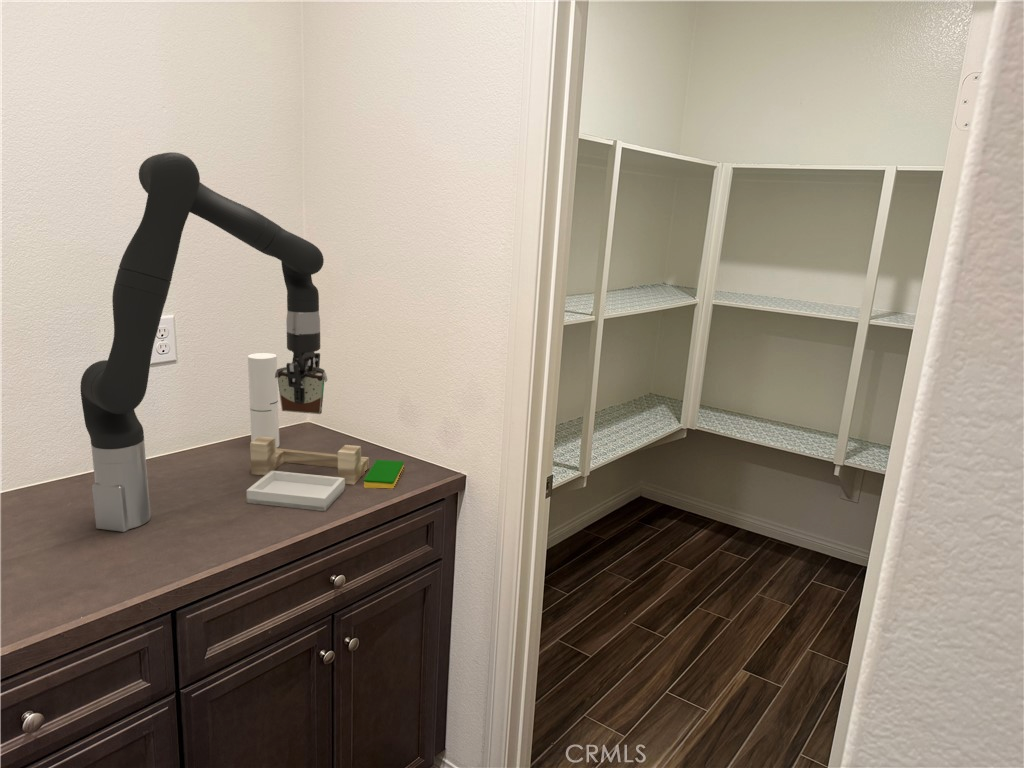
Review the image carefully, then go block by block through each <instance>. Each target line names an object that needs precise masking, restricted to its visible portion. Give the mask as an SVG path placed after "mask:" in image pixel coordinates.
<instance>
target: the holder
mask: <svg viewBox="0 0 1024 768" xmlns="http://www.w3.org/2000/svg"><path fill="white" fill-rule="evenodd" d="M249 445H250V446H249V448H250V451H249V452H250V469H251V470H250V471H251V472H250V473H251V475H258V476H265V475H267V474H268V473H269V472H270V471H276V469H278V467H280V466H281V465H283V464H284V463H288V464H298V465H299V464H300V465H309V466H317V467H325V468H326V467H327V468H335V469H337V477H340V478H345V485H353V486H354V485H355V484H356V483H357V482H358V481H359V480H360V479H361V478H362V477H363V476H364V475H365V473H366V472H367V471H368V470H369V469H370V465H369V464H370V463H369V462H370V458H369V457H367V456H362V446H361V445H352V444H351V445H350V444H344V445H343V446H342V447H340V449H339V450H338V451H337V453H328V452H327V453H326V452H320V451H319V452H317V451H305V450H297V449H289V448H288V449H287V448H278V447H277V448H276V444H275V438H270V437H258V438H257V439H255V440H254V441H252V442H249ZM368 468H369V469H368ZM367 469H368V470H367ZM366 470H367V471H366ZM365 471H366V472H365ZM361 476H362V477H361ZM360 477H361V478H360Z"/></svg>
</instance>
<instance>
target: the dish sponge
mask: <svg viewBox="0 0 1024 768" xmlns="http://www.w3.org/2000/svg"><path fill="white" fill-rule="evenodd" d="M403 467H404V468H405V461H403V460H402V461H401V460H400V461H399V460H390V459H389V460H388V459H387V460H386V459H376V460H375V462H374V463H373V464H372V467H371V468H369V471H368V473H367V474H366V475H365V477H364V479H363V487H364V488H365V489H376V488H394V489H395V487H396V485H397V483H398V481H397V480H399V479H400V477H399V475H400V473H401V471H402V469H403ZM403 470H404V469H403ZM402 472H403V471H402ZM401 474H402V473H401ZM400 476H401V475H400ZM398 478H399V479H398ZM396 482H397V483H396ZM395 484H396V485H395ZM394 486H395V487H394Z"/></svg>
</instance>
